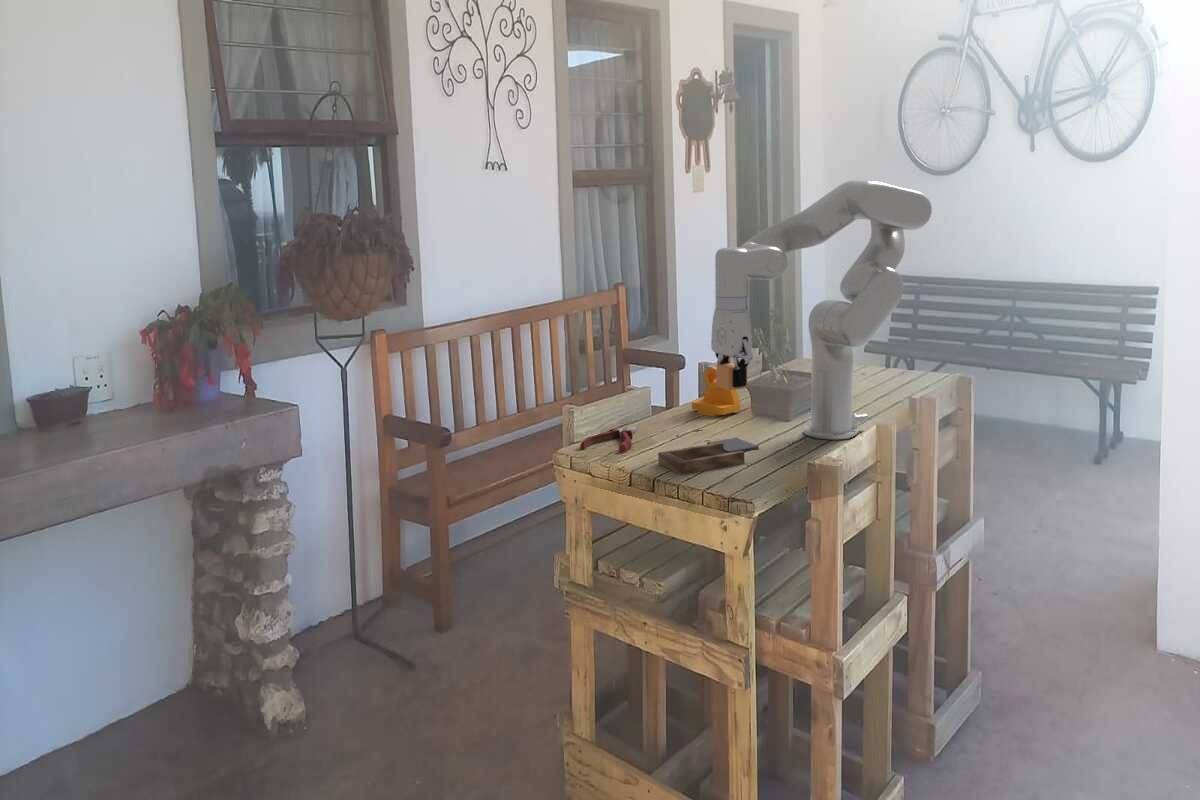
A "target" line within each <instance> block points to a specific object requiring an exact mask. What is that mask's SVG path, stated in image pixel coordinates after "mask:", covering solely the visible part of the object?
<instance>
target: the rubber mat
mask: <svg viewBox="0 0 1200 800" xmlns="http://www.w3.org/2000/svg"><path fill="white" fill-rule="evenodd" d="M719 442H721V443H724V454H725V453H731V452H737V451H743V452H744V453H745V452H748V451H754V450H759V446H758V445H756V444H753V443H751V442H750V441H746V440H744V439H741V438H738V437H732V438H725V439H720V440H713V441H709V442H708V441H707V443H706V445H707V444H713V443H719Z"/></svg>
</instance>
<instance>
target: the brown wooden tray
mask: <svg viewBox="0 0 1200 800" xmlns="http://www.w3.org/2000/svg"><path fill="white" fill-rule="evenodd" d="M657 455H658V465H660V466H662V467H664V468H667V469H668V470H669V471H672V472H675V474H677V475H678V474H679V475H685V474H690V473H691V474H692V473H697V472H703V471H709V470H713V469H719V468H726V467H730V466H731V467H732V466H735V465H736V466H737V465H741V464H745V451H744V452H743V451H737V452H731V453H725V452H724V443H721V442H719V443H713V444H707V443H706V444H701V445H695V446H690V447H684V448H678V449H674V450H667V451H666V450H665V451H660V452H658V453H657Z"/></svg>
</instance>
